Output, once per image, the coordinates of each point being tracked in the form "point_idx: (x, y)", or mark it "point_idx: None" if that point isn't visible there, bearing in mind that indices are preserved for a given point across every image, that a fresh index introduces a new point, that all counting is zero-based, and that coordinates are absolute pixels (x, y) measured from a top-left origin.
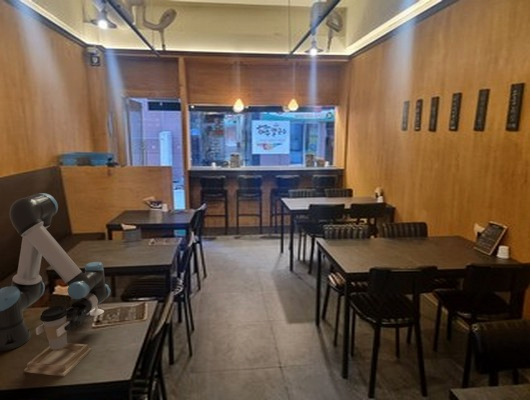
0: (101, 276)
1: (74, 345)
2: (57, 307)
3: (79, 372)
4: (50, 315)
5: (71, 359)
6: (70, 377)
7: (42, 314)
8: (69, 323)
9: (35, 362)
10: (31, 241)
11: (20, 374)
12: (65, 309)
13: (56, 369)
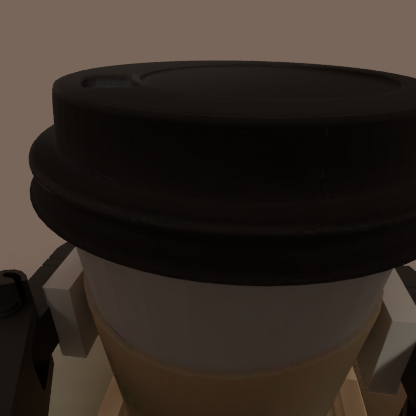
0: None
1: None
2: (257, 98)
3: (55, 388)
4: (199, 61)
5: (101, 413)
6: (94, 352)
7: (319, 64)
8: (48, 296)
9: (338, 412)
10: None
11: (353, 364)
12: (71, 179)
13: None
